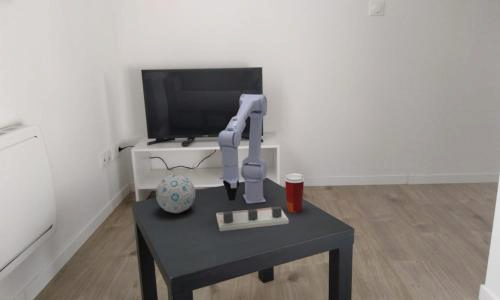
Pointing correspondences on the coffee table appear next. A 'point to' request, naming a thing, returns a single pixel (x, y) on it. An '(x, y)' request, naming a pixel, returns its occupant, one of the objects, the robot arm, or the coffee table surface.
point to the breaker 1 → (228, 217)
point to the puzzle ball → (175, 193)
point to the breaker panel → (243, 222)
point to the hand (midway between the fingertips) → (231, 199)
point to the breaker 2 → (252, 214)
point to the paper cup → (294, 192)
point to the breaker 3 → (276, 211)
